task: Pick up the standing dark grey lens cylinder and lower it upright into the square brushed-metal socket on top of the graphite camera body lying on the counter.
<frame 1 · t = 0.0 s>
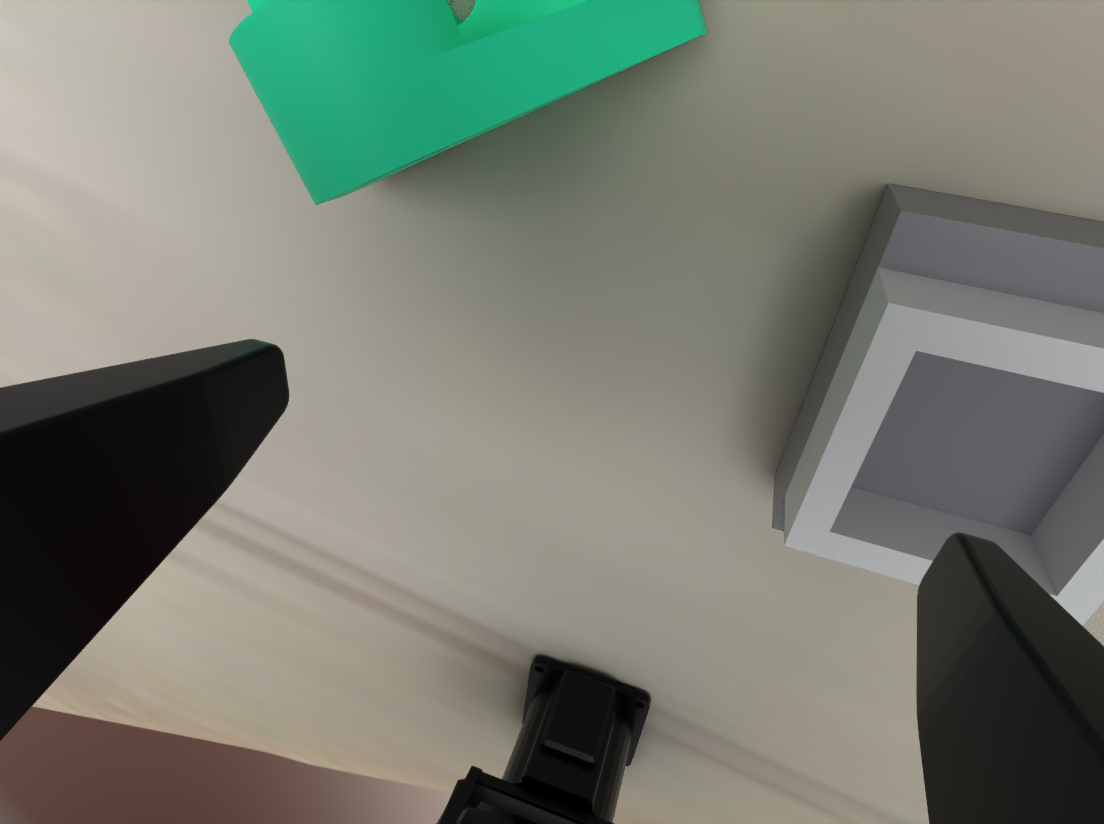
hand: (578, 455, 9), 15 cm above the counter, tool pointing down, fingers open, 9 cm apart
camera body: (950, 380, 21), on the counter
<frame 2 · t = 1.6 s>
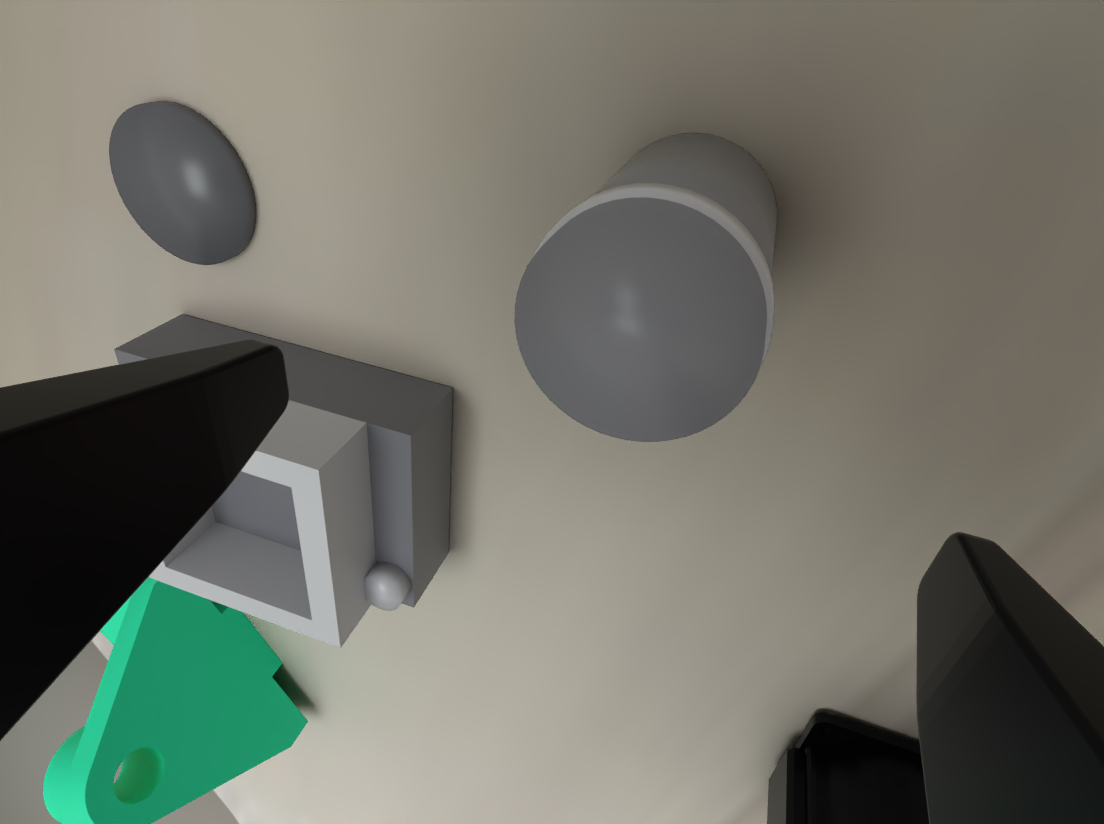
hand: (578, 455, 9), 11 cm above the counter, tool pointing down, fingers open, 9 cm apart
camera mount: (218, 630, 37), on the counter
lens cap: (195, 183, 21), on the counter
lens: (687, 223, 17), on the counter
camera body: (321, 438, 25), on the counter
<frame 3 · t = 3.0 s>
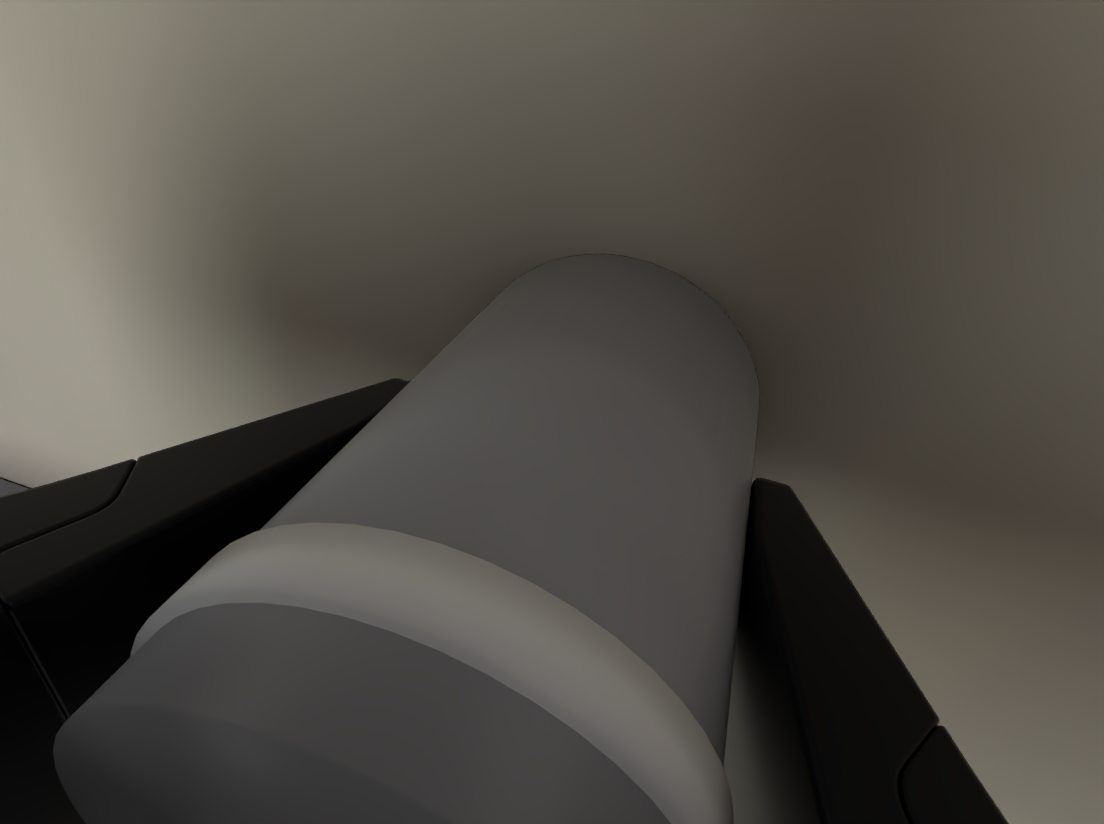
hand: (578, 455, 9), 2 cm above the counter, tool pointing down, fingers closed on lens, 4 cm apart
lens: (606, 397, 10), on the counter, touching gripper
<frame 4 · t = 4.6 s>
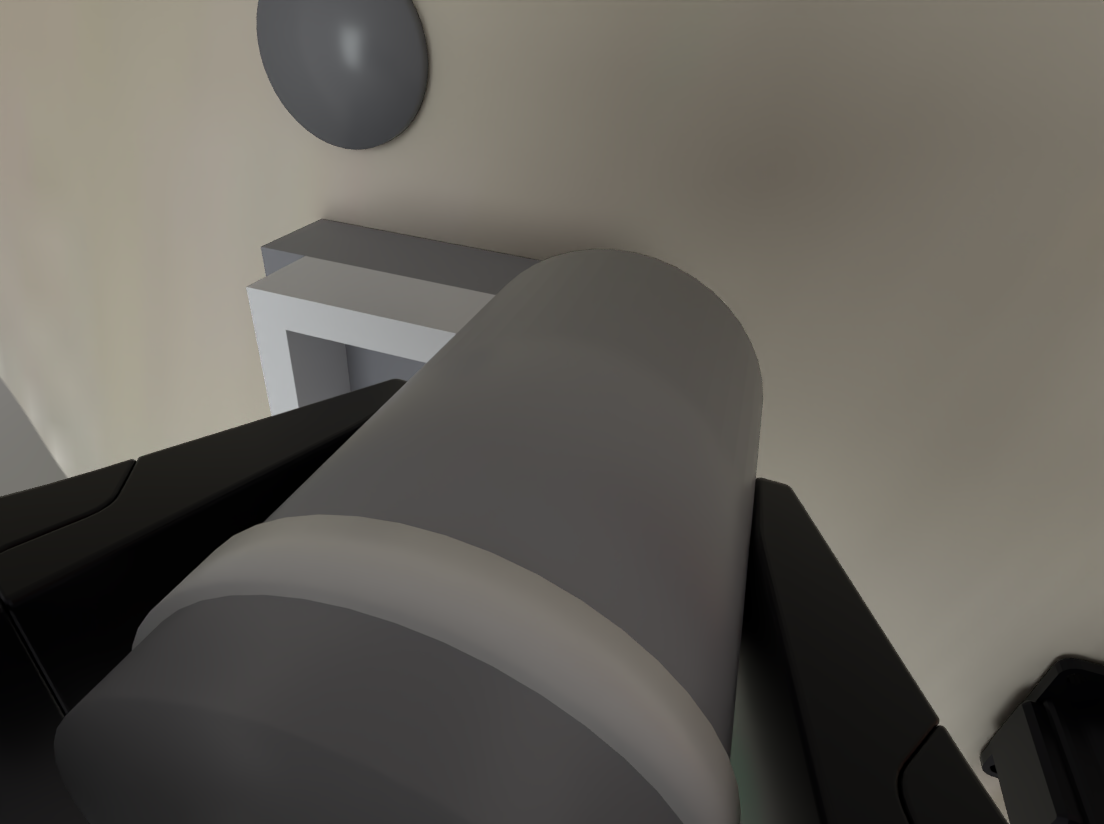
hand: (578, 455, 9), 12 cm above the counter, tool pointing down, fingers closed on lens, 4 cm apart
lens cap: (352, 51, 19), on the counter
lens: (609, 393, 10), point 10 cm above the counter, touching gripper
camera body: (474, 360, 23), on the counter
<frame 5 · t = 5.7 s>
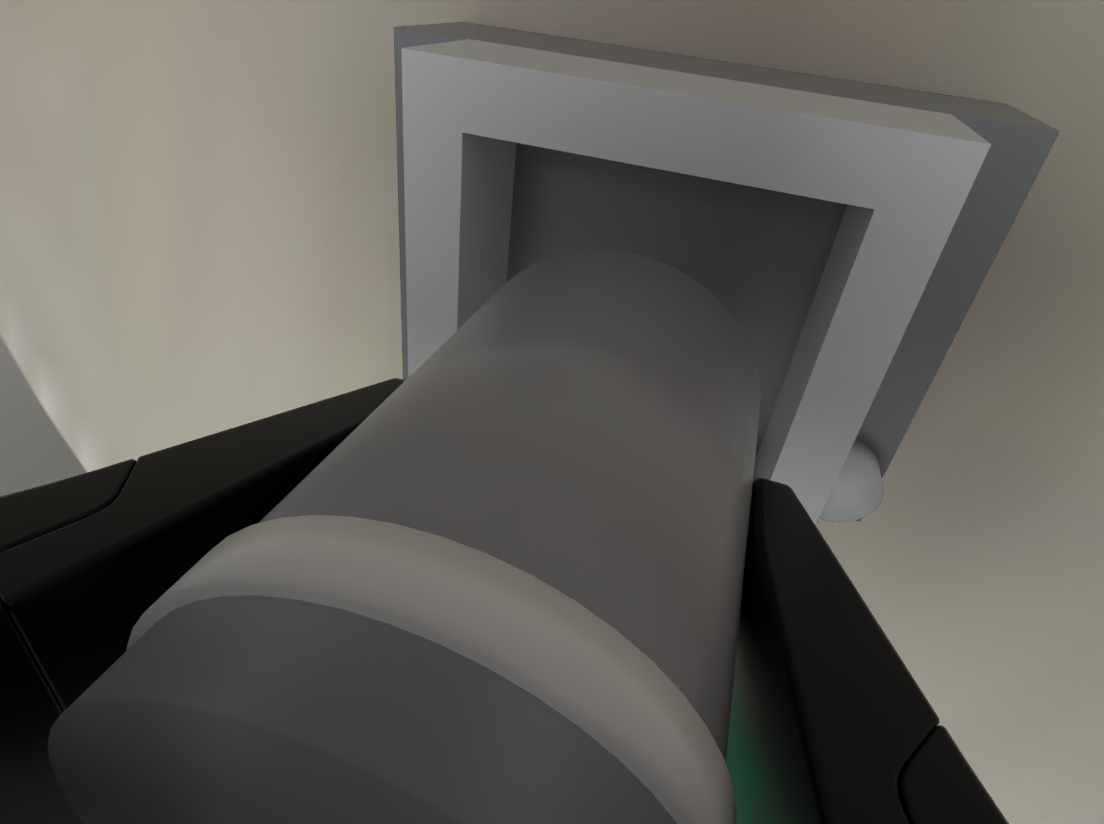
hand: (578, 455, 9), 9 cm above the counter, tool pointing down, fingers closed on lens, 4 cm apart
lens: (606, 393, 10), point 7 cm above the counter, touching gripper
camera body: (671, 249, 15), on the counter
when the fingers open (6 cm above the counter, at t = 6.4 s): lens drops 2 cm, resting on camera body.
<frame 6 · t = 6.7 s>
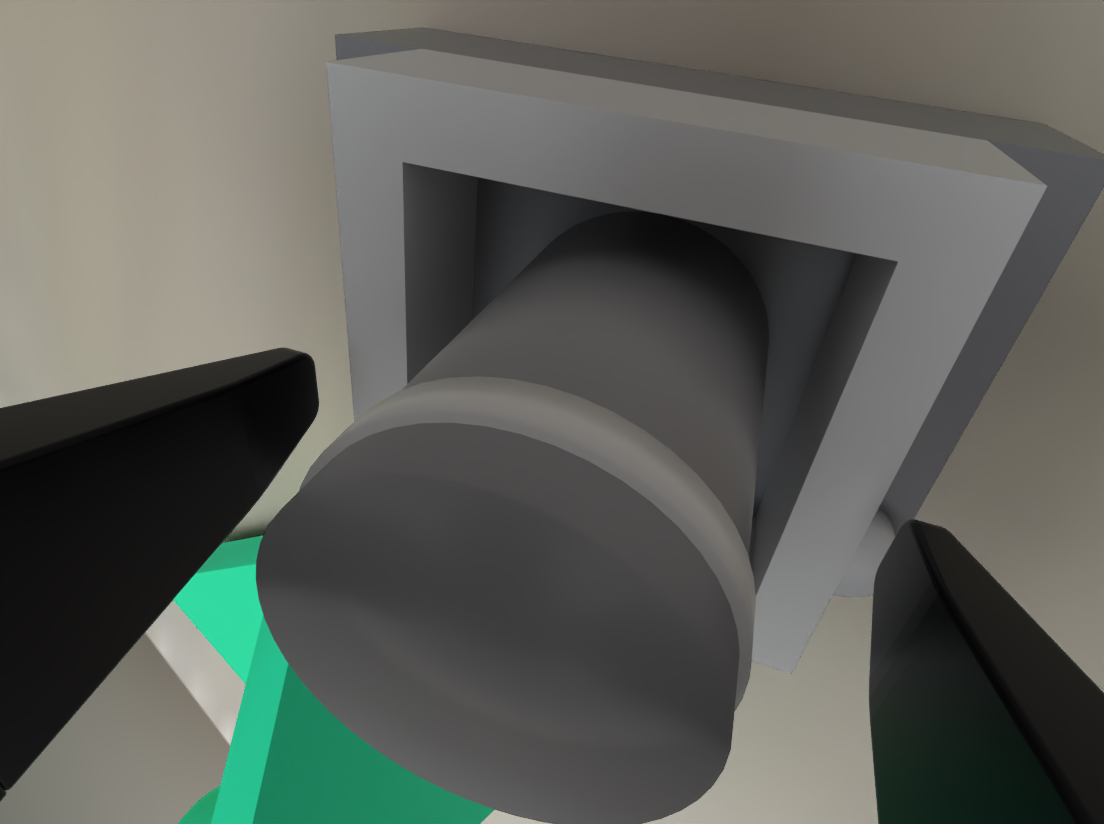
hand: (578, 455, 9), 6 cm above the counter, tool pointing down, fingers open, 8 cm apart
camera mount: (372, 633, 25), on the counter
lens: (635, 339, 11), point 3 cm above the counter, touching camera body
camera body: (660, 281, 14), on the counter
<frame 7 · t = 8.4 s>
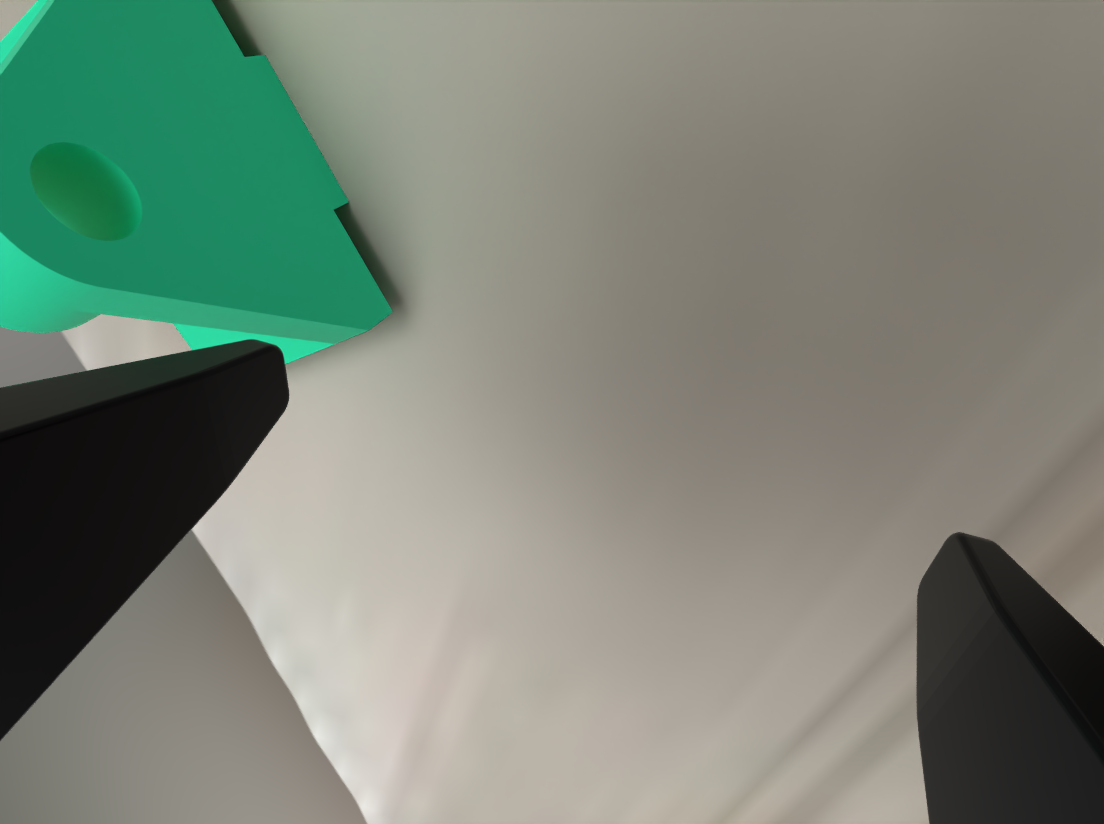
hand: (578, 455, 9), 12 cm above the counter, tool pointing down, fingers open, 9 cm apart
camera mount: (241, 178, 23), on the counter
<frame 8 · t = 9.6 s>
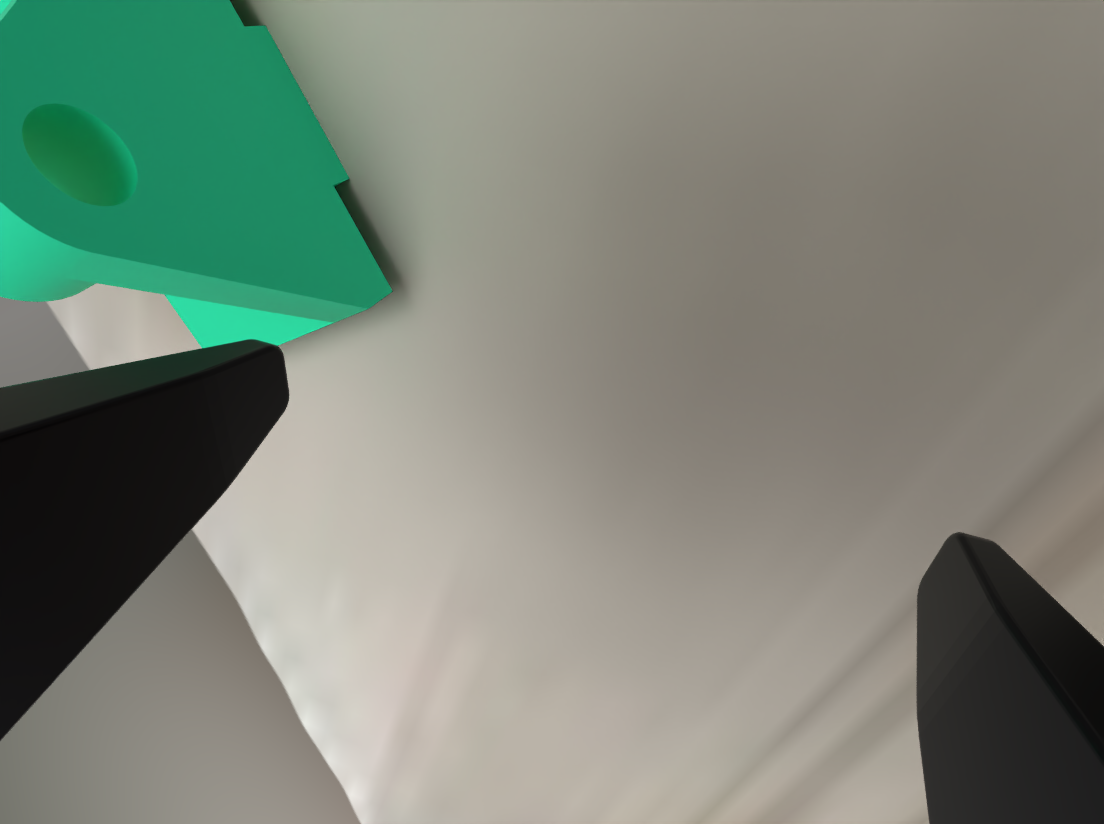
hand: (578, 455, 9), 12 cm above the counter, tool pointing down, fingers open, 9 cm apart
camera mount: (240, 153, 22), on the counter
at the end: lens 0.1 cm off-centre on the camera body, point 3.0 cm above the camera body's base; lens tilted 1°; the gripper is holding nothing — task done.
